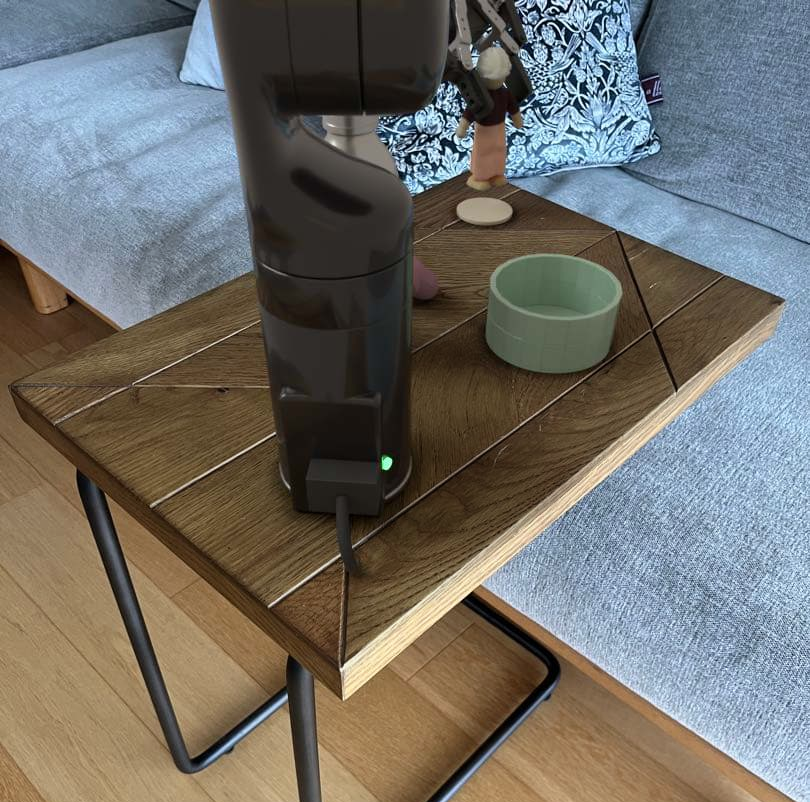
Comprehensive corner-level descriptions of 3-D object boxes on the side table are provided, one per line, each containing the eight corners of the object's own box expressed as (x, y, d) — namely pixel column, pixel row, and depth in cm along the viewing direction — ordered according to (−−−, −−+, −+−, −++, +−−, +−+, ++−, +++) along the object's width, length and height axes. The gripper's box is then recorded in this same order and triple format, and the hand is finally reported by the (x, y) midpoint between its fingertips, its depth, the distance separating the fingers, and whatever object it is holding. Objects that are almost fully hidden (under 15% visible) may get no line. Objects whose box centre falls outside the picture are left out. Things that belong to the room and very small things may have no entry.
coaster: (512, 226, 85) (512, 223, 85) (455, 224, 86) (455, 220, 85) (512, 202, 90) (512, 198, 89) (457, 199, 90) (457, 196, 90)
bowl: (616, 377, 67) (628, 323, 63) (484, 369, 67) (489, 315, 64) (605, 308, 74) (615, 256, 71) (486, 302, 75) (491, 250, 71)
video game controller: (332, 301, 78) (309, 252, 71) (353, 262, 79) (332, 211, 72) (424, 327, 74) (409, 279, 68) (445, 287, 76) (432, 236, 69)
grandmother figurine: (496, 167, 88) (508, 35, 79) (522, 179, 86) (537, 45, 77) (444, 187, 85) (449, 51, 75) (469, 200, 83) (478, 62, 73)
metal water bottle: (304, 348, 69) (280, 92, 55) (370, 324, 72) (363, 74, 58) (346, 385, 66) (332, 121, 51) (413, 357, 68) (418, 100, 54)
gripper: (384, -86, 69) (483, 102, 72) (491, -106, 76) (576, 65, 79) (344, -22, 75) (435, 148, 78) (446, -47, 83) (526, 109, 86)
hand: (506, 105), depth 79 cm, fingers closed on grandmother figurine, 5 cm apart
